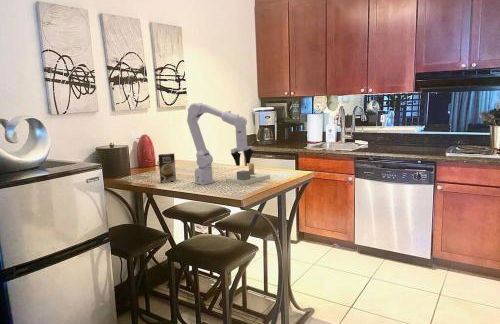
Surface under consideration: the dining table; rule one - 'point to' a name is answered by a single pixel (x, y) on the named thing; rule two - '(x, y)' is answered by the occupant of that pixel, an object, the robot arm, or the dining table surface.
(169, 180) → the coffee box
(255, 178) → the pin board
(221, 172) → the dining table surface
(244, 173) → the grey chamfered cube
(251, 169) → the pin
